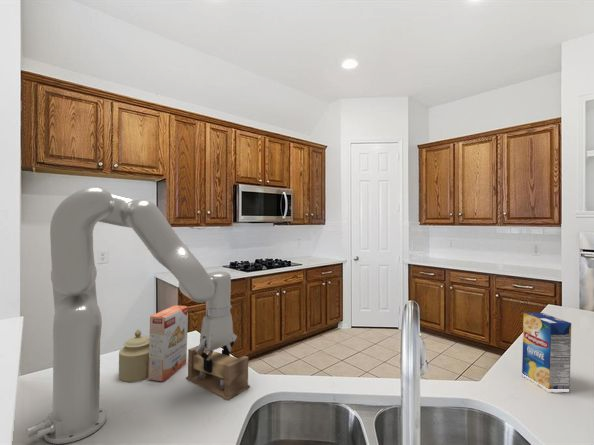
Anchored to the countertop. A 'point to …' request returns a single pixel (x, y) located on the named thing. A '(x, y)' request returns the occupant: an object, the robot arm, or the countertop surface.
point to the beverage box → (546, 350)
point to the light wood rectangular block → (214, 363)
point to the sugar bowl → (134, 359)
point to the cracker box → (167, 342)
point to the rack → (222, 387)
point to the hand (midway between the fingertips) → (216, 366)
